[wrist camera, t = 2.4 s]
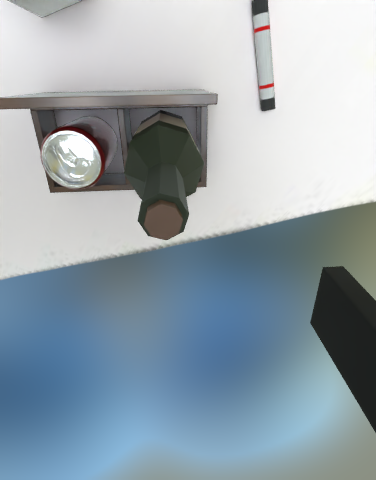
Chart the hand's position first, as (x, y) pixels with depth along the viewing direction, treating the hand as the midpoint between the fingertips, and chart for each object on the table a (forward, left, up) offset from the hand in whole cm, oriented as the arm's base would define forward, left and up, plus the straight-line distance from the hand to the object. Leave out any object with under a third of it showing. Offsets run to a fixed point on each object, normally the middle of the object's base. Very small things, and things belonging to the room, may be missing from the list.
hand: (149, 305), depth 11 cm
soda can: (-10, 0, -39) cm, 40 cm away
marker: (+14, +11, -39) cm, 43 cm away
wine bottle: (0, 0, -39) cm, 39 cm away
